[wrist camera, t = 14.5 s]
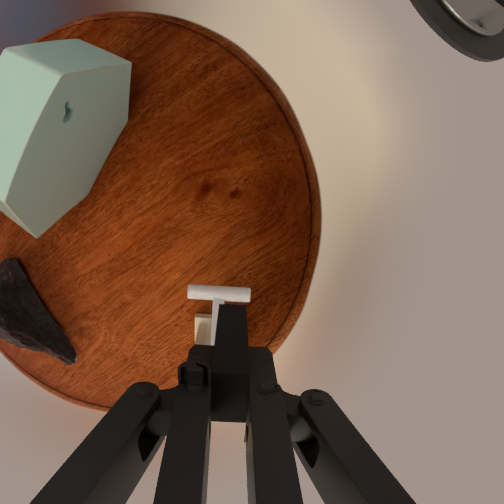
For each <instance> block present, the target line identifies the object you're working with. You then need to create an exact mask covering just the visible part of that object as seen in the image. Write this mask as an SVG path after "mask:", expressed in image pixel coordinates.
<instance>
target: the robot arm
mask: <svg viewBox="0 0 504 504" xmlns="http://www.w3.org/2000/svg"><path fill="white" fill-rule="evenodd" d="M437 2H438V3H439V5H440V6H441V7H442V8H443V10H444V11H445V12H446V13H447V14H448V15H449V16H450V17H451V18H452V19H453V20H454V21H455V22H456V23H457V24H459V25H460V26H461V27H462V28H464V29H465V30H467V31H468V32H470V33H472V34H474V35H477V36H480V37H490V36H493V35H496V34H498V33H500V32H501V31H502V30H503V28H504V0H437ZM178 382H179V385H178V386H176V387H174V388H171V389H165V390H159V387H158V386H157V385H155V384H153V383H151V382H137V383H135V384H133V385H131V386H130V387H129V388H128V389H127V390H126V392H125V393H124V394H123V395H122V396H121V397H120V399H119V400H118V401H117V402H116V403H115V404H114V405H113V407H112V408H111V409H110V410H109V411H108V412H107V414H106V415H105V416H104V417H103V418H102V419H101V421H100V422H99V423H98V424H97V425H96V427H95V428H94V429H93V430H92V431H91V432H90V433H89V435H88V436H87V437H86V438H85V439H84V441H83V442H82V443H81V444H80V445H79V447H77V449H76V450H75V451H74V452H73V453H72V454H71V456H70V457H69V458H68V459H67V460H66V462H65V463H64V464H63V465H62V466H61V467H60V469H59V470H58V471H57V472H56V473H55V474H54V476H53V477H52V478H51V479H50V480H49V481H48V483H47V484H46V485H45V486H44V487H43V489H42V490H41V491H40V492H39V493H38V494H37V496H36V497H35V498H34V499H33V500H32V501H31V503H30V504H125V503H126V502H127V500H128V499H129V497H130V495H131V494H132V492H133V490H134V489H135V487H136V485H137V484H138V482H139V481H140V479H141V477H142V475H143V474H144V472H145V471H146V469H147V467H148V466H149V464H150V462H151V461H152V459H153V457H154V456H155V454H156V452H157V451H158V449H159V447H160V445H161V444H162V442H163V440H164V439H165V436H167V439H166V443H165V448H164V452H163V457H162V462H161V467H160V472H159V477H158V482H157V487H156V492H155V498H154V503H153V504H206V498H207V481H208V465H209V451H210V450H209V449H210V437H211V436H210V435H211V421H220V422H244V423H245V422H246V429H245V439H244V442H246V463H247V488H248V504H303V500H302V495H301V489H300V484H299V478H298V473H297V468H296V462H295V457H294V451H293V448H294V450H295V451H296V453H297V455H298V457H299V459H300V461H301V463H302V464H303V466H304V468H305V470H306V472H307V473H308V475H309V477H310V479H311V480H312V482H313V484H314V486H315V487H316V489H317V491H318V493H319V494H320V496H321V498H322V500H323V501H324V503H325V504H416V503H415V502H414V500H413V499H412V498H411V497H410V495H409V494H408V493H407V492H406V491H405V489H404V488H403V487H402V486H401V484H400V483H399V482H398V481H397V479H396V478H395V477H394V476H393V475H392V473H391V472H390V471H389V470H388V468H387V467H386V466H385V465H384V463H383V462H382V461H381V460H380V458H379V457H378V456H377V455H376V453H375V452H374V451H373V450H372V449H371V447H370V446H369V444H368V443H367V442H366V441H365V439H364V438H363V437H362V436H361V434H360V433H359V432H358V431H357V429H356V428H355V427H354V425H353V424H352V423H351V422H350V420H349V419H348V418H347V416H346V415H345V414H344V413H343V411H342V410H341V409H340V407H339V406H338V405H337V403H336V402H335V401H334V400H333V398H332V397H331V396H330V395H329V394H328V393H326V392H324V391H322V390H317V389H310V390H307V391H304V392H303V393H302V394H301V396H297V395H292V394H289V393H287V392H284V391H283V390H282V389H281V387H280V385H278V383H277V379H276V373H275V367H274V362H273V356H272V352H271V351H270V350H269V349H268V348H267V347H248V335H247V319H246V305H231V304H219V309H218V317H217V326H216V334H215V343H214V345H201V344H195V345H194V346H193V347H192V348H191V349H190V350H189V354H188V359H187V361H186V362H184V363H182V364H180V365H179V367H178Z"/></svg>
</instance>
